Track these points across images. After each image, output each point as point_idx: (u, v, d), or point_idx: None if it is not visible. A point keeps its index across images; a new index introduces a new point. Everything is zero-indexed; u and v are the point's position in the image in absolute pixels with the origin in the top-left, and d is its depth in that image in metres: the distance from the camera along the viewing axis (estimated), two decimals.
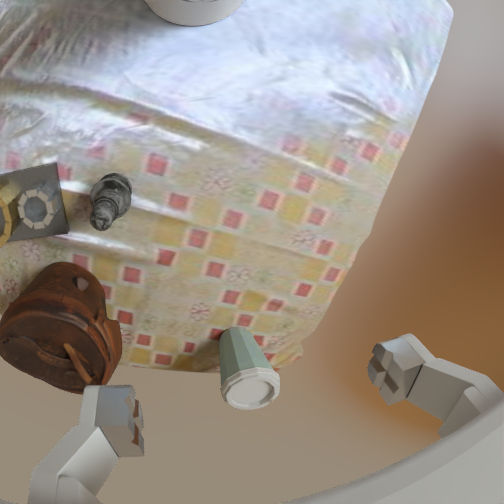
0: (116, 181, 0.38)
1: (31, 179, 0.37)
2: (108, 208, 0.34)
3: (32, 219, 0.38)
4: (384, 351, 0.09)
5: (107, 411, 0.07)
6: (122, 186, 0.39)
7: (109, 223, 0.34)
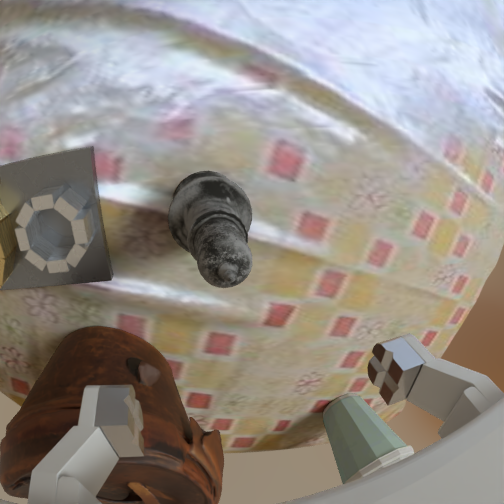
0: (227, 183, 0.21)
1: (42, 177, 0.20)
2: (242, 237, 0.16)
3: (43, 254, 0.20)
4: (384, 351, 0.09)
5: (107, 411, 0.07)
6: (238, 193, 0.21)
7: (248, 271, 0.16)
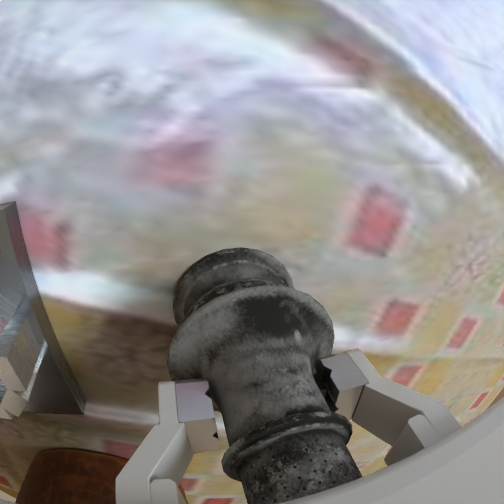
0: (295, 299, 0.09)
1: None
2: None
3: None
4: (323, 367, 0.09)
5: (189, 406, 0.07)
6: (315, 314, 0.10)
7: None
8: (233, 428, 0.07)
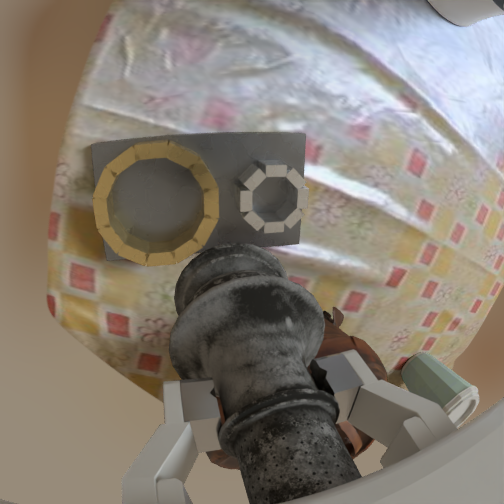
0: (286, 288, 0.10)
1: (259, 150, 0.27)
2: (351, 467, 0.06)
3: (259, 216, 0.28)
4: (318, 369, 0.09)
5: (195, 405, 0.07)
6: (305, 303, 0.11)
7: None
8: (228, 406, 0.08)
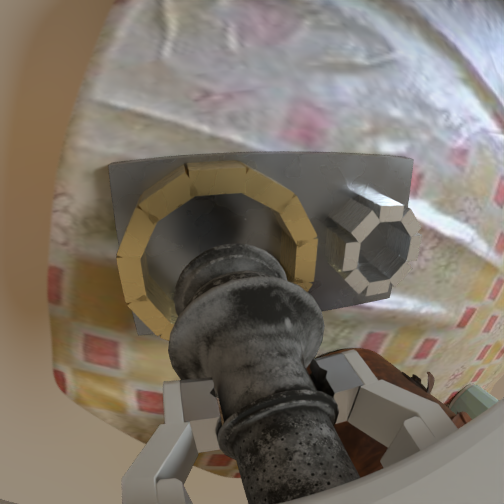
0: (285, 289, 0.10)
1: (361, 180, 0.19)
2: (350, 468, 0.06)
3: None
4: (318, 369, 0.09)
5: (195, 405, 0.07)
6: (304, 304, 0.11)
7: None
8: (228, 406, 0.08)
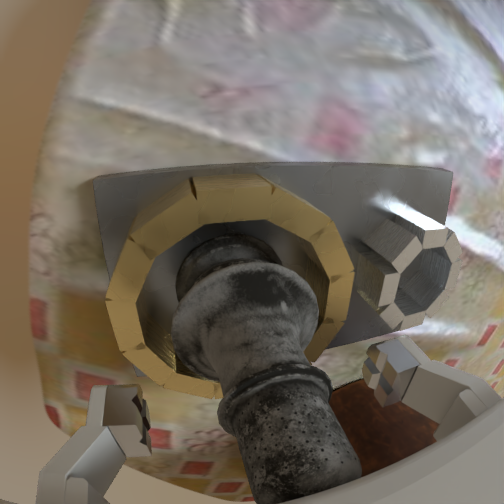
0: (281, 273, 0.11)
1: (399, 197, 0.15)
2: (343, 438, 0.06)
3: None
4: (378, 353, 0.09)
5: (115, 411, 0.07)
6: (299, 288, 0.12)
7: None
8: (227, 382, 0.09)
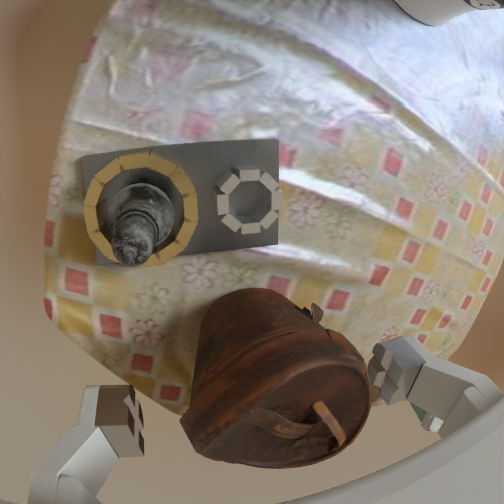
0: (150, 188, 0.25)
1: (235, 157, 0.29)
2: (144, 227, 0.20)
3: (236, 218, 0.30)
4: (384, 351, 0.09)
5: (107, 411, 0.07)
6: (160, 195, 0.25)
7: (148, 253, 0.20)
8: None
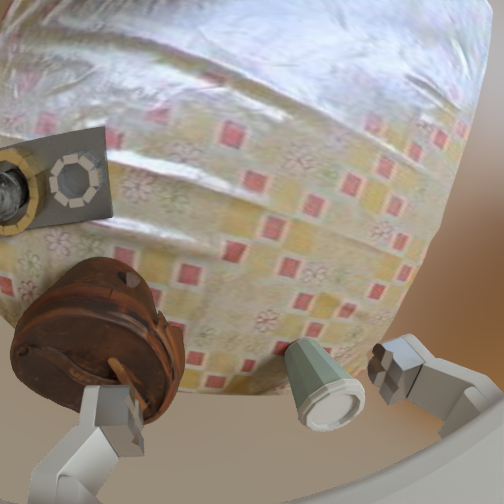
0: (4, 175, 0.26)
1: (69, 145, 0.30)
2: None
3: (67, 195, 0.31)
4: (384, 351, 0.09)
5: (107, 411, 0.07)
6: (9, 180, 0.27)
7: None
8: None
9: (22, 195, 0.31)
